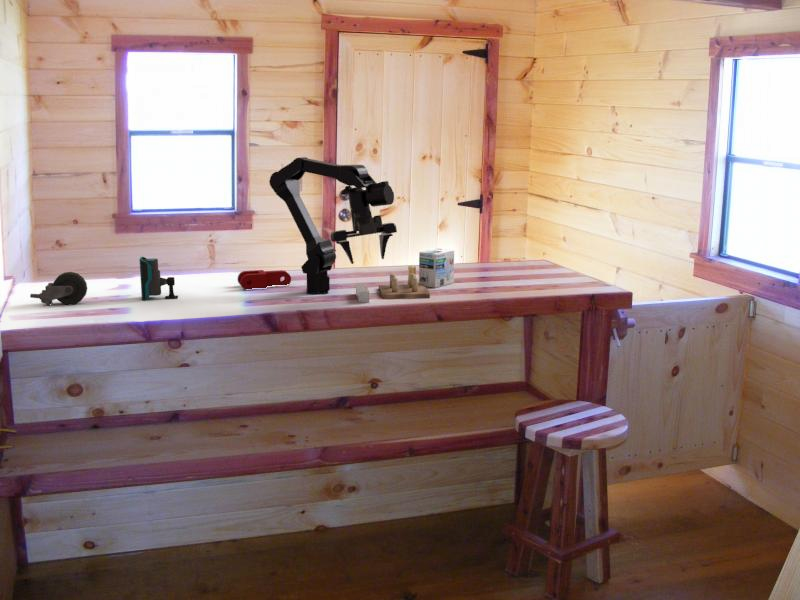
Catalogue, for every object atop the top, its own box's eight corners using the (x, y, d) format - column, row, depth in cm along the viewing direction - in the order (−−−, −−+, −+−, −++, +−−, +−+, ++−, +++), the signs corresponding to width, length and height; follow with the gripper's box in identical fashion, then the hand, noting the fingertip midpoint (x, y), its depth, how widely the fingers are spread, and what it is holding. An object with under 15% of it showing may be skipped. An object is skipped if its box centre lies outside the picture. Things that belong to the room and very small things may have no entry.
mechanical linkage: (241, 291, 277) (241, 275, 276) (237, 287, 284) (237, 271, 283) (292, 288, 282) (292, 272, 281) (288, 284, 289) (287, 268, 288)
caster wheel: (87, 304, 262) (32, 301, 259) (88, 271, 260) (33, 268, 257) (84, 309, 256) (28, 305, 253) (85, 275, 254) (29, 271, 251)
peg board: (382, 298, 268) (382, 281, 266) (378, 288, 281) (378, 272, 280) (429, 297, 269) (430, 280, 268) (423, 288, 283) (423, 271, 282)
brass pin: (408, 286, 286) (408, 267, 285) (407, 284, 288) (407, 266, 287) (416, 286, 286) (416, 267, 285) (415, 284, 289) (415, 265, 287)
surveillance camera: (175, 258, 262) (139, 259, 260) (177, 299, 264) (141, 300, 263) (176, 255, 267) (141, 256, 265) (178, 295, 270) (143, 296, 268)
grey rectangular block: (369, 303, 262) (369, 291, 262) (358, 303, 262) (358, 291, 261) (365, 294, 274) (365, 283, 273) (355, 295, 274) (355, 283, 273)
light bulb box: (435, 288, 283) (435, 254, 281) (417, 285, 287) (418, 252, 285) (454, 283, 291) (455, 250, 289) (437, 280, 295) (437, 247, 293)
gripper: (333, 213, 254) (341, 268, 256) (397, 203, 258) (405, 258, 260) (326, 212, 265) (334, 265, 267) (388, 203, 269) (395, 255, 271)
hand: (367, 261), depth 266 cm, fingers open, 9 cm apart
